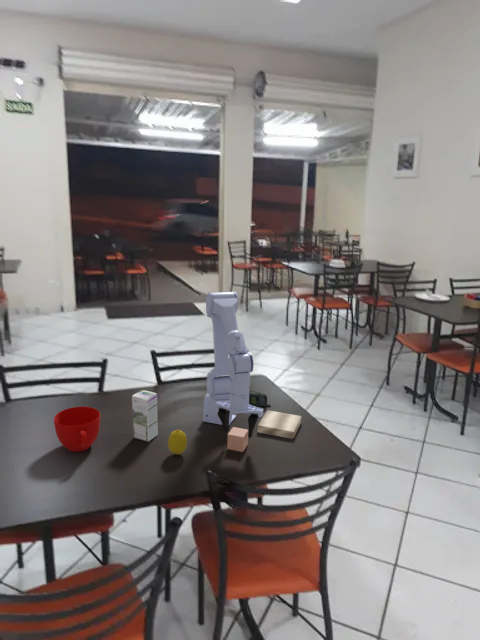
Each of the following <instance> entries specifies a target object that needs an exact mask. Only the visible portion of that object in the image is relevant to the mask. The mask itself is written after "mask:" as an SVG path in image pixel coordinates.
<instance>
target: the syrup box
mask: <svg viewBox="0 0 480 640" xmlns="http://www.w3.org/2000/svg"><path fill="white" fill-rule="evenodd" d="M131 396H132V397H131V402H132V403H131V404H132V407H131V408H132V431H133V433H132V435H133V438H134V439H137V440H140V441H142V442H143V441H144V442H148V443H149V442H150V441H151V440H153V439H155V437H157V436H158V434H159V431H158V430H159V428H158V427H159V425H158V393H156V392H152V391H148V390H146V389H145V390H144V389H142V390H140V391H138V392H136V393H134V394H133V395H131Z"/></svg>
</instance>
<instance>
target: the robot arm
mask: <svg viewBox="0 0 480 640" xmlns="http://www.w3.org/2000/svg"><path fill="white" fill-rule="evenodd" d="M239 305H240V298H239V295H238V293H237V292H236V291H235V290H234V291H224V292H223V291H221V292H219V291H218V292H217V291H216V292H212V291H210V292H209V291H208V293H207V294H206V297H205V306H206V307H205V310H206V311H205V312H206V316H207V318H210V319H211V322H212V337H213V353H214V354H213V357H214V367H213V368H212V369H211V370H209V371H208V372H207V374H206V392H207V393H205V396H204V399H203V419H202V422H206V423H211V424H216V425H220V426H222V428H223V433H224V434H228V433H229V432H230V431H229V430H230V425H231V424H232V422H233V421H234V420H235V418H236V416H237V415H239V414H245V415H249V416H248V417H247V422H248V430H249V431H248V439H251V438H252V436H253V433H254V429H255V427H256V424H257V422H258V421H259V420H258V419H259V418H263V416H264V408H262V407H259V406H254V405H250V404H249V391H250V386H251V385H250V382H251V373H252V372H253V371H254V358H253V355H252V353H251V352H250V350H249V349H248V348H247V344H246V341H245V338H244V337H245V336H244V334H243V333H242V332H241V331H239V328H238V320H237V314H236V313H238V308H239ZM236 414H237V415H236Z"/></svg>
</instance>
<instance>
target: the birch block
mask: <svg viewBox="0 0 480 640" xmlns="http://www.w3.org/2000/svg"><path fill="white" fill-rule="evenodd" d="M301 424H302V415H297V414H290V413H284V412H279V411H274V410H269V409H267V410H266V412H265V413H264V414H263V416H262V417H261V419H260V420H259V422H258V424H257V433H259V434H266V435H269V436H275V437H276V436H277V437H282V438H286V439H290V440H294V438H295V437H296V434H297V432H298V431H299V428H300V426H301Z"/></svg>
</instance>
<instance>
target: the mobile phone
mask: <svg viewBox="0 0 480 640" xmlns="http://www.w3.org/2000/svg"><path fill="white" fill-rule="evenodd" d="M249 405H252V406H255V407H270V408H271V406H272V405H271V404H268V397H267V395H266V394H265V393H262V392H258V391H254V390H249Z"/></svg>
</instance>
